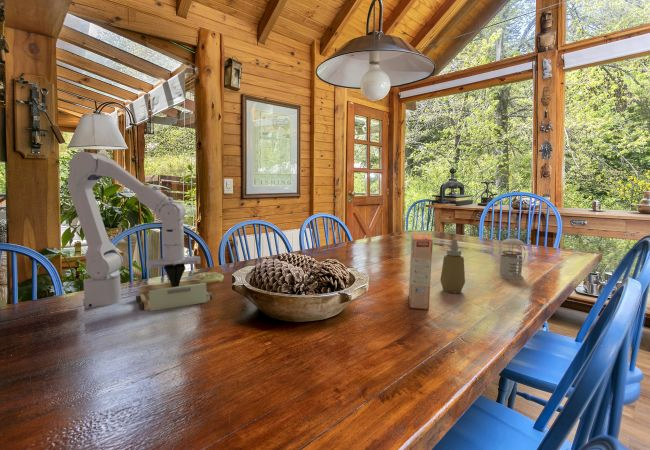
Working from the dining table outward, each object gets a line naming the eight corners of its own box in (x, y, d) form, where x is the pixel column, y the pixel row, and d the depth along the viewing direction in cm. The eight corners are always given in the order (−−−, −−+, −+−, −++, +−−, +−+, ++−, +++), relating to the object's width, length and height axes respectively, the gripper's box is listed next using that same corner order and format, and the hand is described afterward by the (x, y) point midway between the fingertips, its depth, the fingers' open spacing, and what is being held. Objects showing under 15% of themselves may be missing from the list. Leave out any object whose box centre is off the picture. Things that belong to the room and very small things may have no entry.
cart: (140, 316, 105) (140, 296, 104) (135, 304, 114) (134, 286, 114) (213, 304, 115) (212, 286, 114) (202, 294, 125) (202, 278, 124)
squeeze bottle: (461, 288, 136) (464, 237, 134) (467, 295, 128) (470, 241, 126) (437, 287, 137) (440, 237, 134) (442, 294, 129) (444, 240, 126)
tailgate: (150, 311, 104) (149, 291, 103) (149, 310, 105) (148, 290, 105) (207, 302, 112) (206, 284, 111) (206, 301, 113) (205, 283, 113)
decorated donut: (196, 290, 130) (196, 279, 130) (190, 282, 140) (190, 272, 139) (227, 286, 135) (227, 275, 135) (219, 279, 145) (219, 269, 144)
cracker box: (430, 310, 112) (433, 239, 110) (409, 309, 113) (411, 238, 111) (427, 296, 126) (430, 232, 123) (408, 295, 127) (410, 232, 125)
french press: (491, 274, 156) (495, 213, 153) (511, 272, 161) (515, 212, 158) (512, 280, 147) (516, 215, 144) (532, 277, 152) (537, 214, 149)
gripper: (148, 248, 104) (150, 297, 106) (202, 244, 112) (203, 289, 113) (144, 244, 110) (146, 290, 112) (196, 240, 118) (197, 284, 119)
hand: (175, 289), depth 113 cm, fingers closed
